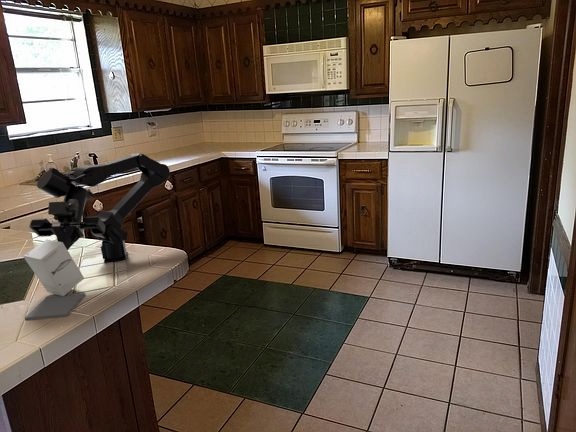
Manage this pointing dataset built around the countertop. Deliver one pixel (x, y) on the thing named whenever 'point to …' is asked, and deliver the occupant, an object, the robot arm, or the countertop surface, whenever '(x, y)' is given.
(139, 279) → the countertop surface
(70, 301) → the rubber mat
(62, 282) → the supplement box
